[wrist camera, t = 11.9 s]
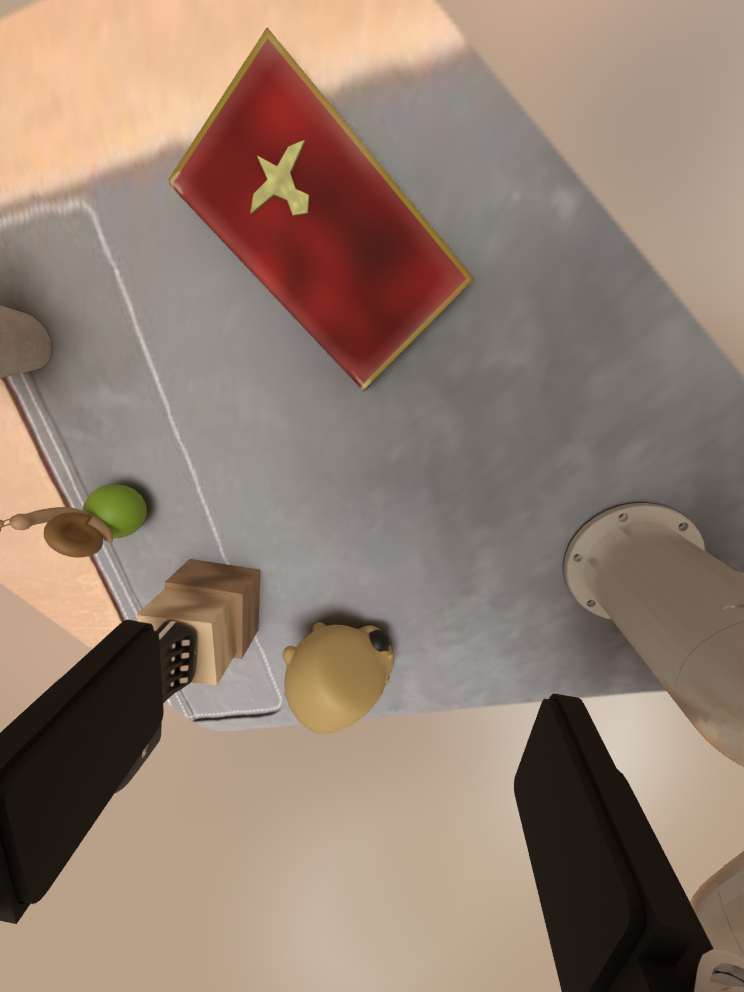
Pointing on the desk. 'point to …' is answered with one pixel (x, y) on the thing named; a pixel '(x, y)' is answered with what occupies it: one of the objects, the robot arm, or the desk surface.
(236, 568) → the walnut block
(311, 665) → the toy pig
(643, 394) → the desk surface
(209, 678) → the oak block
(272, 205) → the hardcover book
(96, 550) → the snail figurine
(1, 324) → the house plant
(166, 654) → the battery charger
